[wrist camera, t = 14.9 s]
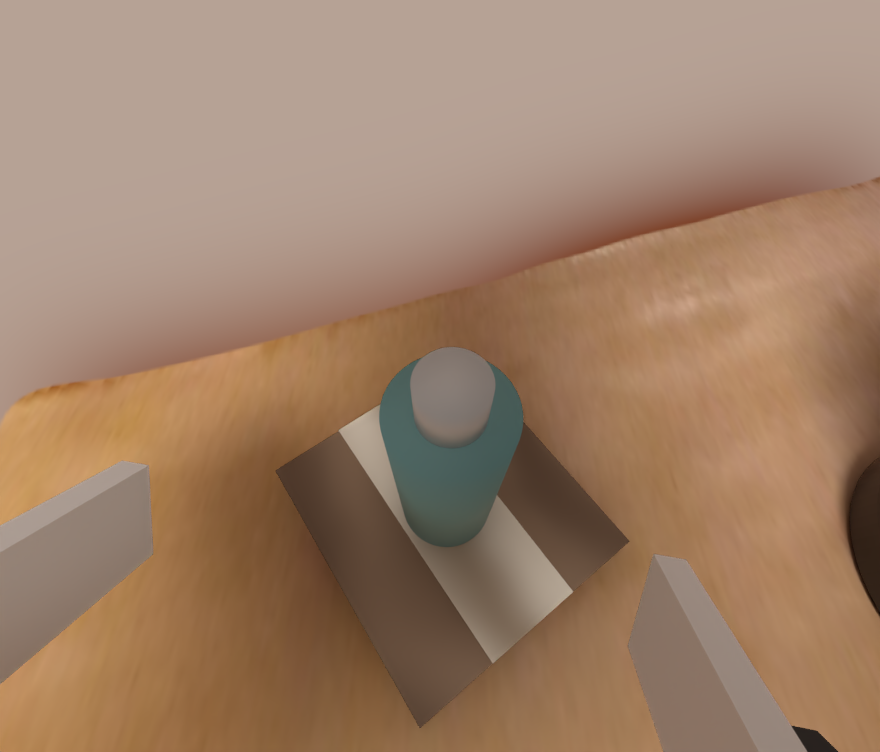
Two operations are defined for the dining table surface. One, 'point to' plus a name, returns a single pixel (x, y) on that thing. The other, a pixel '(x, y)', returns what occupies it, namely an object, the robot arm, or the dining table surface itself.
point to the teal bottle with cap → (449, 441)
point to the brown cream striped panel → (446, 558)
